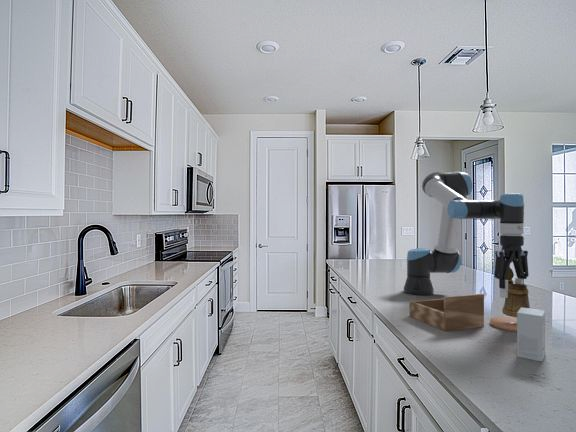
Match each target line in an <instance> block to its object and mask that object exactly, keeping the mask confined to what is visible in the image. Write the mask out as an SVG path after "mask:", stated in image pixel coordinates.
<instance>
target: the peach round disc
mask: <svg viewBox="0 0 576 432" xmlns="http://www.w3.org/2000/svg"><path fill="white" fill-rule="evenodd" d="M489 324H490V325H491V326H492V327H494V328H496V329H500V330H503V331H509V332H514V333H515V332H516V333H517V317H512V316H492V317H490V318H489Z"/></svg>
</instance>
